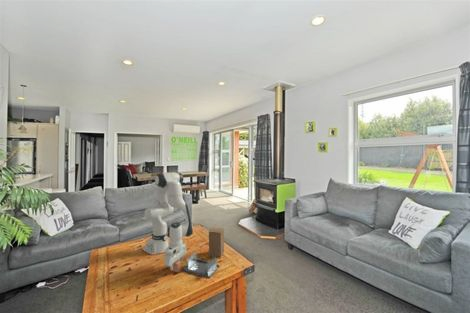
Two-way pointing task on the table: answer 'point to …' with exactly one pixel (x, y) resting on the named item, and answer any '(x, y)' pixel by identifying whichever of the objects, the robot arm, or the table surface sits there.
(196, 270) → the vise base
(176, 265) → the rust block
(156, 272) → the table surface
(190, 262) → the sliding jaw
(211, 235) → the wooden block
